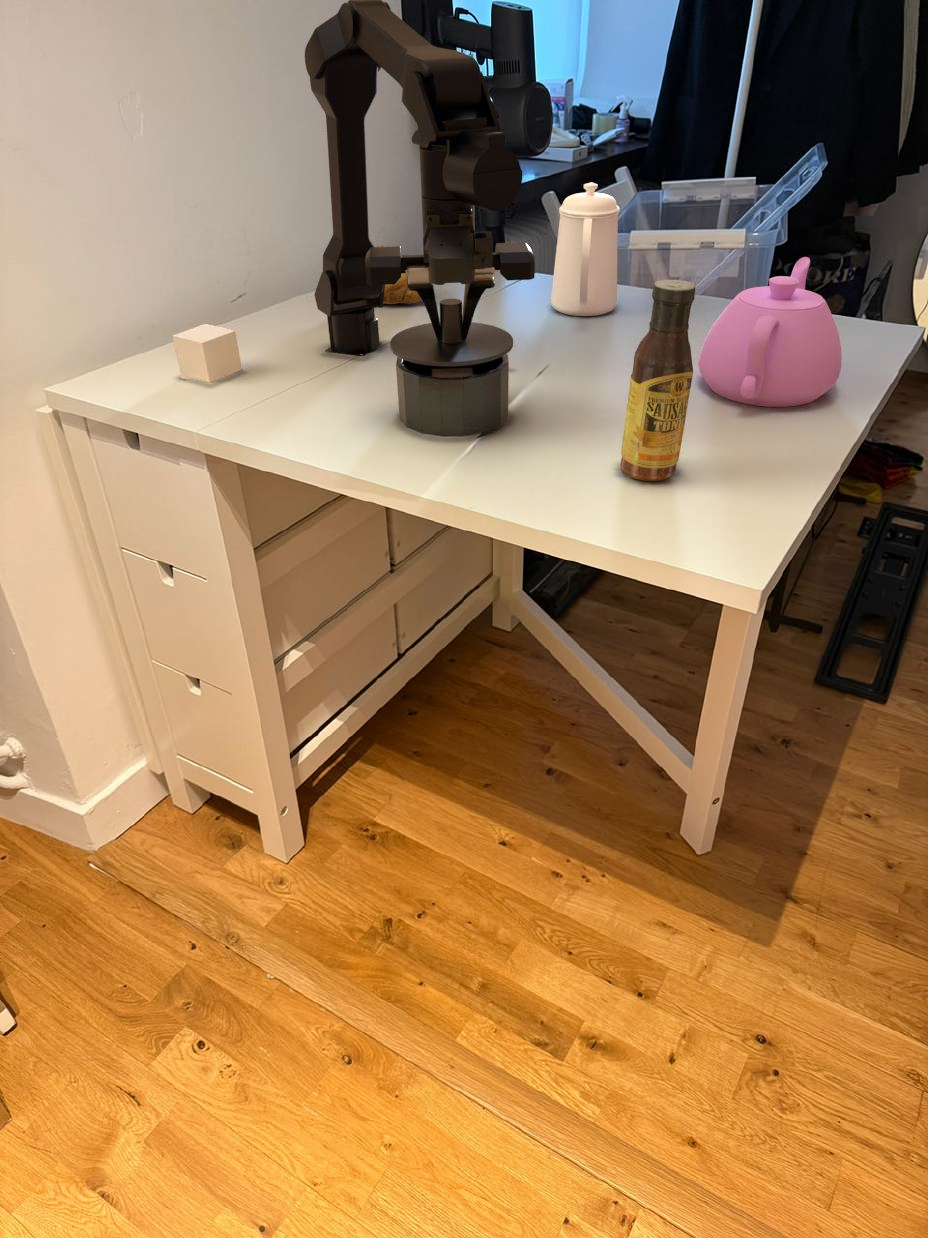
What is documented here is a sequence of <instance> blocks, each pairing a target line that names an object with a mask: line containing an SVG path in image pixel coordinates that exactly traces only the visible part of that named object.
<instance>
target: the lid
mask: <svg viewBox="0 0 928 1238" xmlns="http://www.w3.org/2000/svg"><path fill="white" fill-rule="evenodd" d="M462 315H463V301H462V300H461V299H458V298H445V299H442V300H440V301H439V320H440V328H441V341H438V340H437V337H436V334H435V332H434V329H433V326H432V323H431V322H430V323H423V324H419V325H415V326H411V327H408V328H406V329H403V330H401V331H399V332H398V333H396V334H395V335H393V336H392V337H391V339H390V342H389V347H390V351H391V352H392V353H393V355H395V356H396V357H399V358H401V359H404V360H406V361H410V362H413V363H417V364H423V365H431V366H466V365H474V364H479V363H484V362H488V361H492V360H495V359H498V358H500V357H502V356H504V355H506V354H508V353H510V352H511V350H512V349H513V347H514V338H513V336H512V334H510V333H509V332H508V331H506V330H505V329H503V328H501V327H498V326H496V325H495V326H494V325H492V324H487V323H482V322H474V321H472V322H471V325H470V328H469V332H468V335H467V338H466V340H463V337H462Z"/></svg>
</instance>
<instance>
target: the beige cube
mask: <svg viewBox="0 0 928 1238" xmlns="http://www.w3.org/2000/svg"><path fill="white" fill-rule="evenodd" d="M171 336H172V341H173V346H174V350H175V355H176V360H177V364H178V369H179V373H180V378H181V379H183V380H186V381H187V380H190V379H196V380H199V381H203V382H206V383H209V384H210V383H213V382H215V381H218V380H220V379H222V378H226V377H227V376H229V375H232V374H235V373H237V372H239V371H242V370H243V368H242V361H241V360H242V359H241V355H240V349H239V344H238V338H237V333H236V330H234V329H229V328H227V327H226V328H225V327H221V326H216V325H212V324H208V323H204V324H201V325H198V326H196V327H195V326H194V327H192V328H189V329H187V330H184V331H181V332H179V333H175V334H172V335H171Z"/></svg>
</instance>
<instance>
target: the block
mask: <svg viewBox="0 0 928 1238" xmlns="http://www.w3.org/2000/svg"><path fill="white" fill-rule="evenodd" d="M467 376H473V371H472V368H448V369H432V377H440V378H451V377H467Z"/></svg>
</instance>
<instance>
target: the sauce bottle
mask: <svg viewBox="0 0 928 1238" xmlns="http://www.w3.org/2000/svg"><path fill="white" fill-rule="evenodd" d="M695 295H696V285H695V284H694V282H690V281H686V280H680V279H661V280H657V281H655V282H654V284H653V287H652V292H651V297H652V301H653V303H652V310H651V317H650V321H649V325H648V326H649V330H648V332H647V333H646V335H645V336H643V338H642V339H641V340H640V341H639V343H638V346H637V348H636V350H635V352H634V356H633V366H632V371H631V375H630V379H629V388H628V395H627V403H626V411H625V418H624V427H623V433H622V442H621V449H620V450H621V451H620V455H621V459H620V469H621V471H622V472H623V473H624V474H625V475H626V476H627V477H629V478H631V479H636V480H640V481H647V482H648V481H649V482H655V481H656V482H659V481H664V480H666V479H667V478H670V477H672V476H673V475H674V474H675V472H676V470H677V464H678V463H679V459H680V454H681V447H682V443H683V437H684V430H685V424H686V418H687V413H688V412H687V411H688V405H689V400H690V394H691V387H692V383H693V382H692V381H693V378H694V377H693V376H694V367H693V358H692V347H691V343H690V340H689V328H690V324H689V321H690V316H691V309H692V305H693V303H694V301H695V297H696V296H695Z"/></svg>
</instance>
